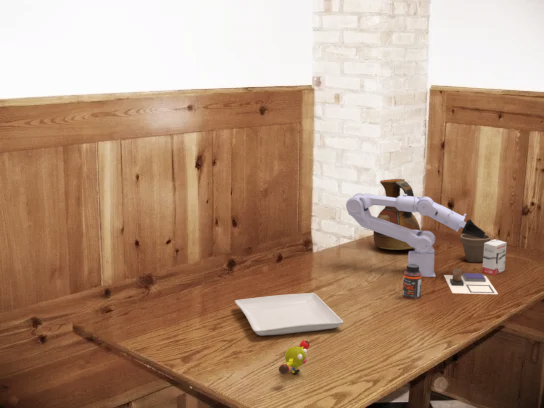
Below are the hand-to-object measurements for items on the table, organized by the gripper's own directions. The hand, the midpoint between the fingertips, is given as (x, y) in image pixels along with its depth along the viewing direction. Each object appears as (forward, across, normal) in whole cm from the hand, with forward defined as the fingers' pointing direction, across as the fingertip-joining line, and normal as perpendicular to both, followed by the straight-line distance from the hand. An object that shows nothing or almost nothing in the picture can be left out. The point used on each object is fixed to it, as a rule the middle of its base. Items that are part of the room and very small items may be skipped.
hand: (483, 235), depth 241 cm
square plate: (-41, -47, +52) cm, 81 cm away
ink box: (+10, +14, +10) cm, 20 cm away
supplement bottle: (-12, -20, +30) cm, 38 cm away
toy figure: (-28, -81, +55) cm, 102 cm away
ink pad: (+4, +3, +15) cm, 16 cm away
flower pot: (+3, +29, +10) cm, 31 cm away
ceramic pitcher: (-26, +39, +20) cm, 51 cm away
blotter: (+4, -3, +18) cm, 19 cm away
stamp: (0, -4, +19) cm, 20 cm away
